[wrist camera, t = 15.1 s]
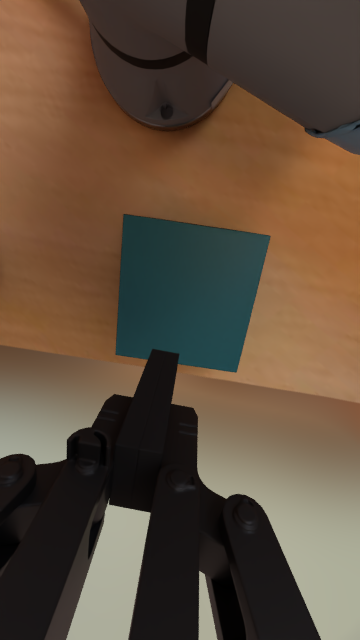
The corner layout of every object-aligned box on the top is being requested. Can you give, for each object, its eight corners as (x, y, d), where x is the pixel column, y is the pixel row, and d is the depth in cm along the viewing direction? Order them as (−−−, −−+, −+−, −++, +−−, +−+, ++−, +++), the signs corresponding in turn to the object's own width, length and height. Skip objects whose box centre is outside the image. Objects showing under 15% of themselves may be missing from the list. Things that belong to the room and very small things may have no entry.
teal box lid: (117, 351, 32) (115, 355, 31) (125, 214, 26) (123, 213, 25) (235, 369, 32) (236, 372, 31) (268, 235, 26) (270, 235, 25)
